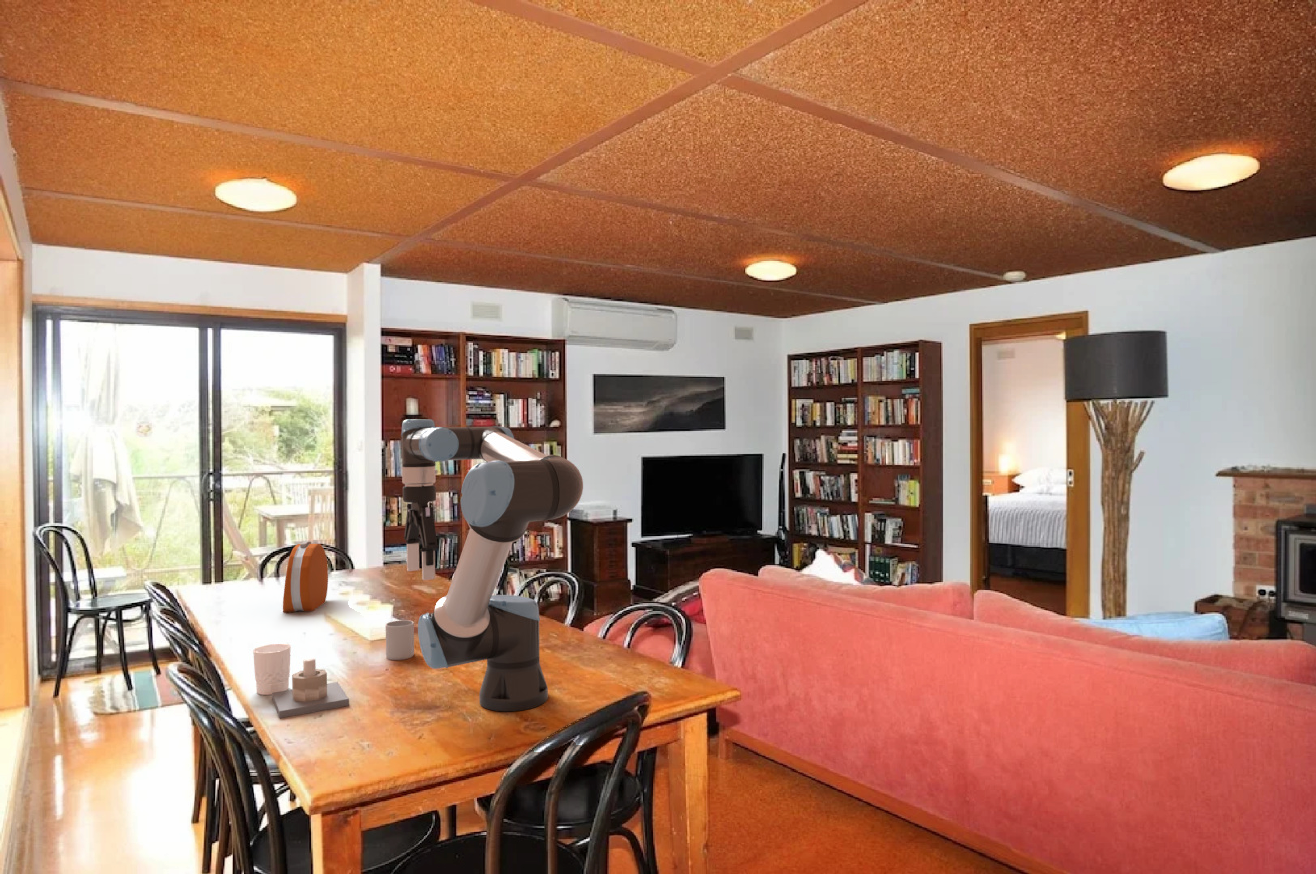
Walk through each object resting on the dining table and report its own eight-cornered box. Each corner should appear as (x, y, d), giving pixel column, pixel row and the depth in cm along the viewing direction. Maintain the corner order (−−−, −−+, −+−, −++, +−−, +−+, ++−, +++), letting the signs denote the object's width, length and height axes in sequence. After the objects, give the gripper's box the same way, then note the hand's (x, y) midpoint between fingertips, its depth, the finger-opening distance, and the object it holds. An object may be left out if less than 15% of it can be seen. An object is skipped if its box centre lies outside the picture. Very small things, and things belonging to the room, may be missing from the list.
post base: (349, 705, 176) (348, 662, 176) (279, 718, 169) (278, 673, 169) (337, 688, 188) (336, 648, 188) (272, 699, 181) (271, 657, 181)
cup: (389, 662, 209) (389, 628, 209) (380, 653, 218) (380, 620, 218) (417, 657, 213) (416, 624, 213) (407, 649, 221) (407, 617, 221)
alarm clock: (300, 600, 286) (299, 537, 286) (328, 599, 287) (327, 536, 287) (278, 614, 264) (276, 546, 264) (309, 613, 265) (307, 546, 265)
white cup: (266, 698, 182) (266, 654, 182) (247, 692, 186) (246, 650, 186) (298, 688, 189) (297, 646, 188) (278, 683, 193) (277, 642, 193)
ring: (328, 697, 177) (328, 675, 177) (295, 703, 174) (294, 680, 174) (323, 689, 183) (323, 667, 183) (291, 694, 180) (291, 672, 180)
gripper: (451, 487, 179) (452, 581, 179) (421, 481, 200) (422, 565, 200) (417, 488, 175) (418, 585, 175) (390, 482, 196) (391, 568, 196)
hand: (420, 575), depth 187 cm, fingers open, 13 cm apart
